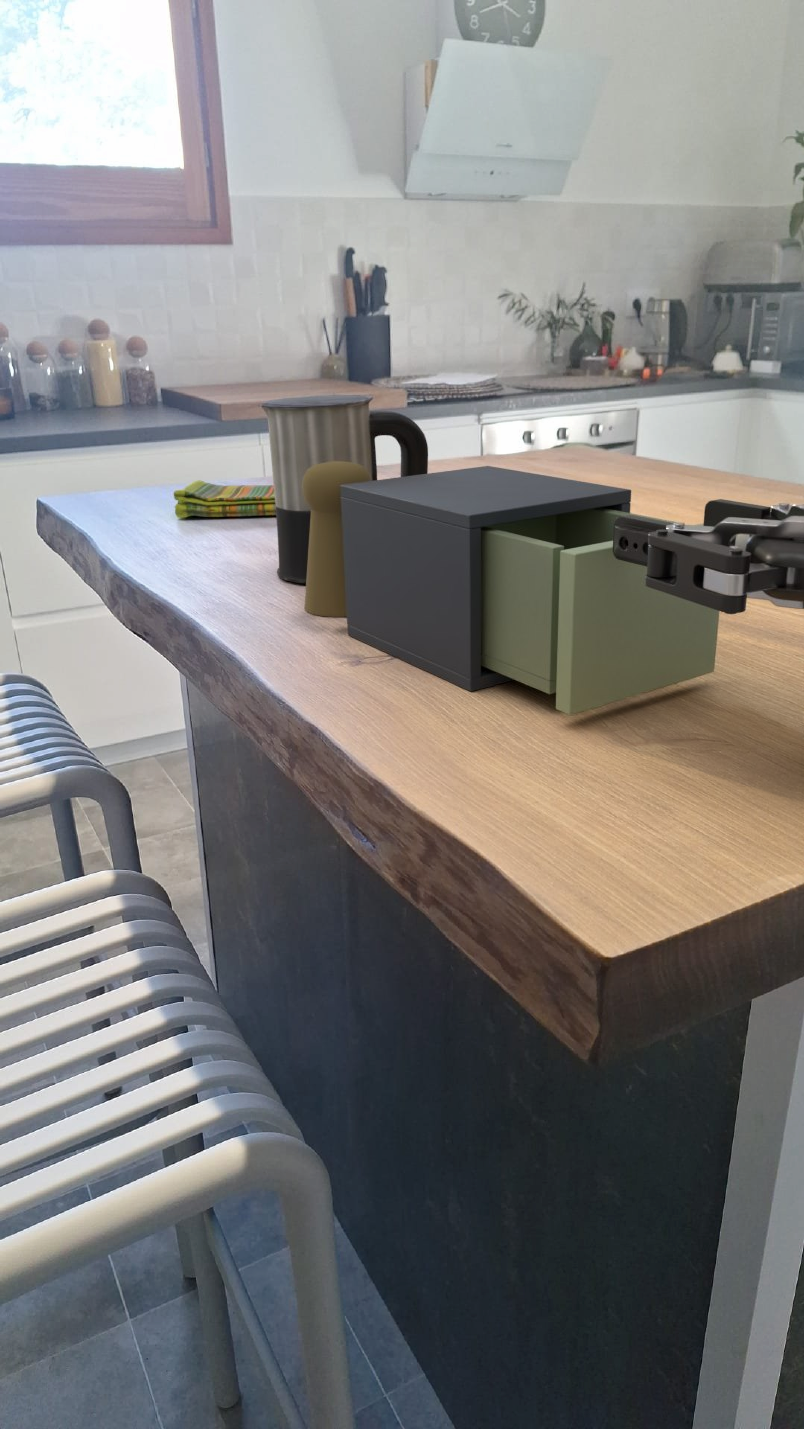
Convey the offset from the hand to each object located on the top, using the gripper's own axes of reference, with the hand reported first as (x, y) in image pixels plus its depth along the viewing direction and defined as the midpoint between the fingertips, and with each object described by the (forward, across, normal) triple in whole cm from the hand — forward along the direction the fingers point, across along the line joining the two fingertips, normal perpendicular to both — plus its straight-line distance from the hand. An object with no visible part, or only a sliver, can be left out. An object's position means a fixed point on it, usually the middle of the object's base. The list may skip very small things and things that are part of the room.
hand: (665, 527), depth 53 cm
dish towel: (+70, -19, +11) cm, 74 cm away
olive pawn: (+30, +3, +11) cm, 32 cm away
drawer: (+5, 0, +10) cm, 11 cm away
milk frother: (+44, -4, +11) cm, 45 cm away
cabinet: (+16, 0, +10) cm, 19 cm away
